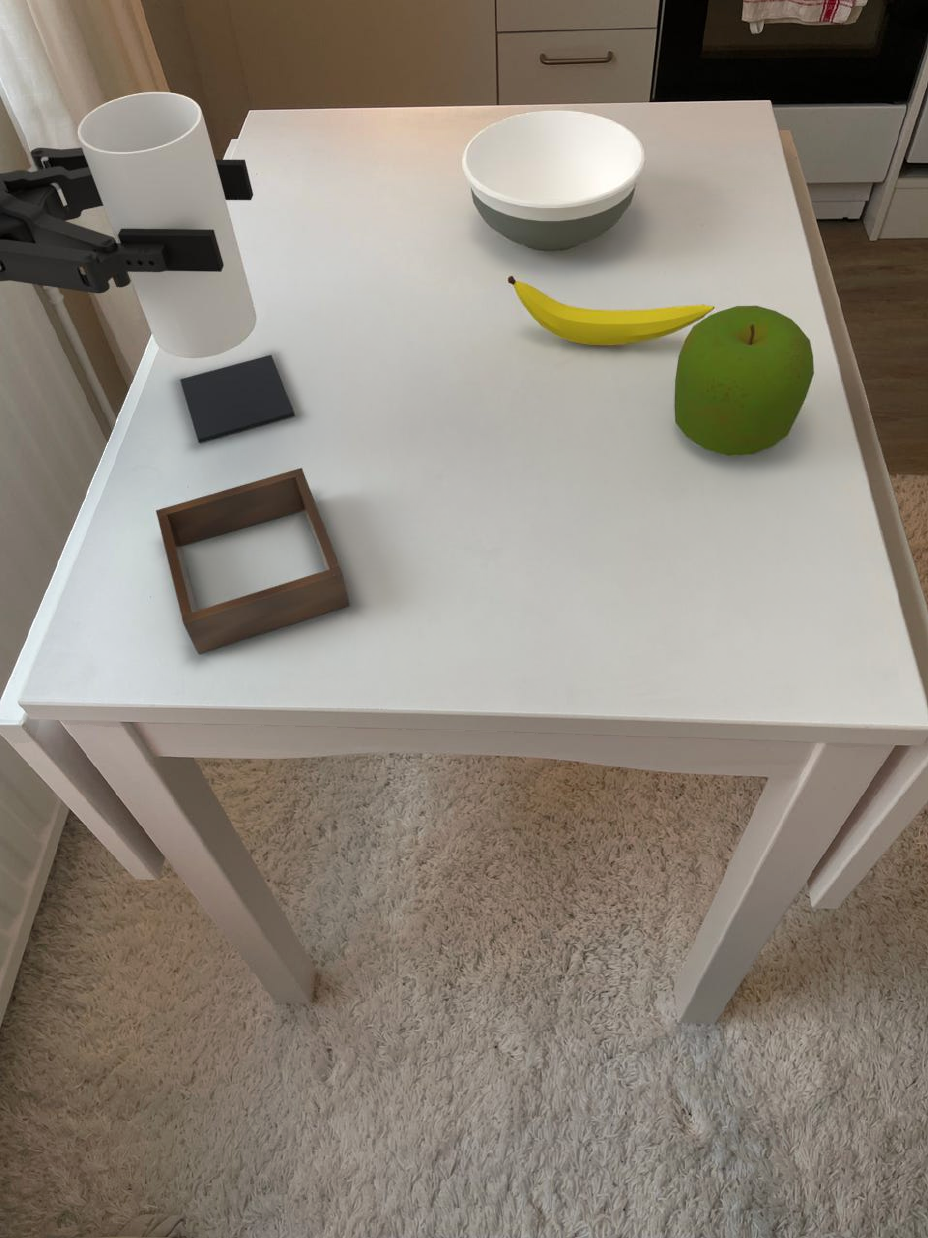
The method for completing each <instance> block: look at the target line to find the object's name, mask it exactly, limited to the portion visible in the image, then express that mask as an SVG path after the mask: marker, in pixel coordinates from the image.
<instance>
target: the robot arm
mask: <svg viewBox="0 0 928 1238" xmlns="http://www.w3.org/2000/svg"><path fill="white" fill-rule="evenodd" d="M29 155H30V157H31V159H32V161H33V164H31V166H30V167H29V168H28V169H27V170H26V169H15V170H13V171H12V170H11V171H8V172H2V173H0V282H17V283H22V284H23V283H24V284H31V285H38V286H45V287H51V288H59V289H65V290H72V291H77V292H85V293H91V294H103V293H106V292H108V291H109V290H110V287H111V286H110V282H109V281H110V280H111V279H112V280H113V283H114V285H115V287H116V288H125V287H127V286H129V285H130V284H131V282H132V280H131V277H130V274H129V272H145V271H146V272H163V271H206V272H221V271H222V269H223V266H224V264H223V260H222V257H221V253H220V250H219V246H218V243H217V239H216V236H215V232H214V230H200V229H121V230H120V232H119V233H118V237H119V240H120V242H121V243H117V240H116V237H115V236H111V235H108V234H105V233H102V232H100V231H96V230H93V229H90V228H87V227H84V226H81V225H78V224H75V223H72V222H69V221H70V220H75V219H78V218H80V217H81V216H82V212H83V211H85V210H91V209H94V208H98V207H104V205H103V203H102V200H101V198H100V195H99V192H98V190H97V187H96V184H95V182H94V179H93V176H92V174H91V171H90V168H89V166H88V163H87V160H86V158H85V155H84V152H83V150H82V147H74V148H62V149H61V148H53V147H52V148H51V147H36V148H33V149H32V150H31V151H30V152H29ZM215 161H216V165H217V169H218V173H219V177H220V180H221V184H222V188H223V192H224V195H225V199H226V201H252V199H253V197H254V192H253V188H252V183H251V179H250V175H249V171H248V167H247V161H246V159H215ZM59 191H61V193H62V195H63V198H64V201H65V203H66V204H64V203H63V201H62V198H61V196H60V194H59ZM80 268H82V269H83V272H84V274H83V273H82V271H81V269H80Z"/></svg>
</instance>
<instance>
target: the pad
mask: <svg viewBox="0 0 928 1238" xmlns="http://www.w3.org/2000/svg"><path fill="white" fill-rule="evenodd" d="M179 381H180V385H181V388H182V392H183V395H184V398H185V401H186V405H187V408H188V411H189V415H190V418H191V422H192V425H193V429H194V432H195V435H196V439H197V441H198V444H202V443H205V442H208V441H212V440H215V439H220V438H222V437H226V436H230V435H233V434H236V433H240V432H243V431H247V430H250V429H255V428H258V427H261V426H265V425H268V424H271V423H272V424H273V423H276V422H279V421H282V420H286V419H289V418H293V417H295V416H296V414H295V411H294V408H293V406H292V404H291V400H290V398H289V396H288V394H287V391H286V389H285V386H284V384H283V381H282V378H281V376H280V373H279V371H278V368H277V366H276V363H275V360H274V358H273V356H272V354H269V355H265V356H262V357H257V358H254V359H250V360H246V361H242V362H239V363H236V364H232V365H228V366H224V367H221V368H217V369H214V370H210V371H206V372H203V373H198V374H194V375H191V376H188V377H183V378H179Z"/></svg>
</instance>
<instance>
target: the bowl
mask: <svg viewBox="0 0 928 1238" xmlns="http://www.w3.org/2000/svg"><path fill="white" fill-rule="evenodd" d="M461 164H462V169H463V174H464V175H465V176H466V178H467V181H468V184H469V187H470V193H471V198H472V203H473V205H474V207H475V208H476V210H477V212H478V213H479V215H480V216H481V218H482V219H483V221H484V223H486V224H487V225H488V226H489V227H490V229H492V230H494V231H495V232H497V233H498V234H500V235H501V236H503V237H504V238H506V239H507V240H510V241H512V242H514V243H516V244H518V245H523V246H524V247H526V248H528V249H532V250H536V251H542V252H558V251H564V250H570V249H571V248H575V247H577V246H579V245H582V244H584V243H588V242H590V241H592V240H594V239H596V238H598V237H599V236H601V235H602V234H604V233H606V232H608V231H609V230H610V229H611V228H612V227H613V226H615V225H616V224H617V223H618V222H619V220H620V219H621V218H622V216H623V215H624V214H625V212H626V211H627V209H628V208H629V207H630V205H631V204H632V200H633V198H634V195H635V190H636V187H637V182H638V179H639V177H640V176H641V175H642V173H643V170H644V168H645V166H646V151H645V149H644V147H643V144H642V142H641V141H640V139H639V138H638V137H637V135H636V134H635V133H634V132H633V131H631V130H630V129H628V128H627V127H626V126H625V125H623V124H621V123H619V122H617V121H614V120H612V119H611V118H608V117H604V116H601V115H598V114H593V113H588V112H583V111H575V110H563V109H561V110H560V109H559V110H555V109H553V110H551V109H550V110H548V109H547V110H539V111H531V112H530V111H529V112H526V113H521V114H515V115H512V116H509V117H506V118H503V119H500V120H498V121H496V122H494V123H492V124H489V125H488V126H486V127H485V128H484V129H483V128H482V130H480V131H479V132H477V133H476V135H474V136H473V137H472V138H471V139H470V140H469V141H468V144H466V147H465V149H464V151H463V153H462V159H461Z"/></svg>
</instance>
